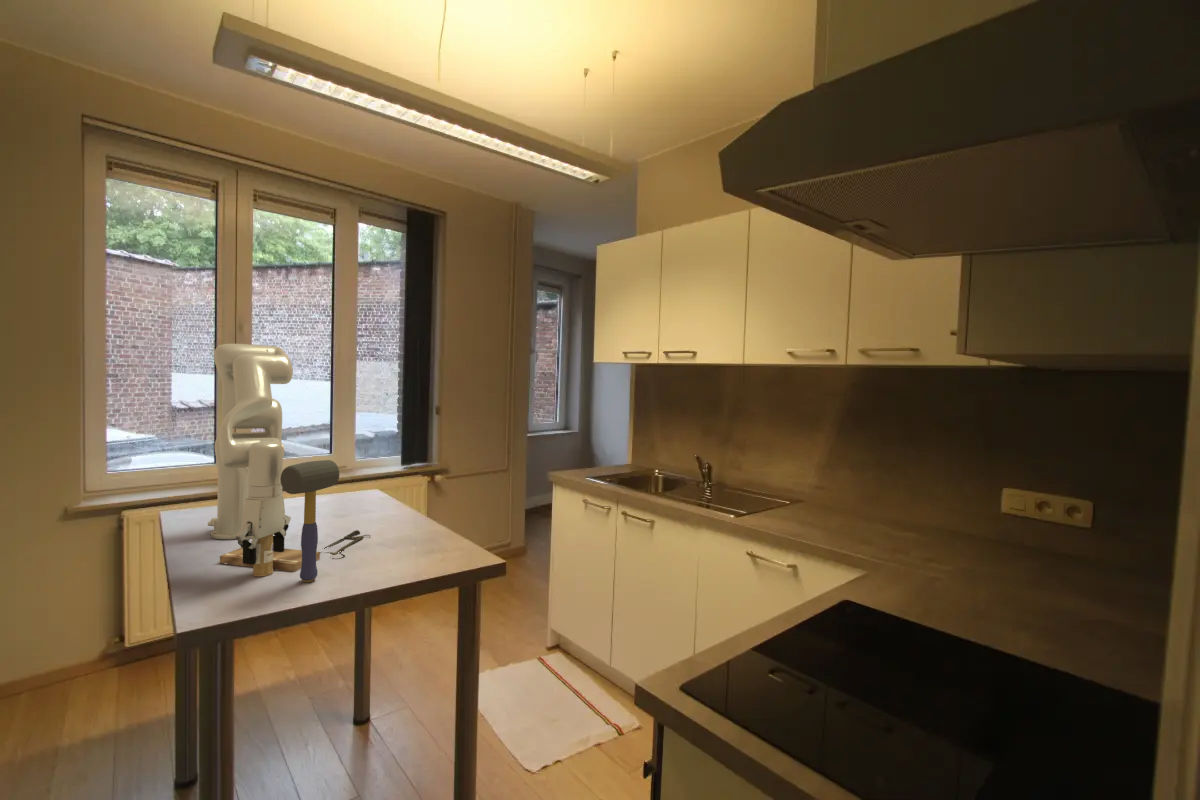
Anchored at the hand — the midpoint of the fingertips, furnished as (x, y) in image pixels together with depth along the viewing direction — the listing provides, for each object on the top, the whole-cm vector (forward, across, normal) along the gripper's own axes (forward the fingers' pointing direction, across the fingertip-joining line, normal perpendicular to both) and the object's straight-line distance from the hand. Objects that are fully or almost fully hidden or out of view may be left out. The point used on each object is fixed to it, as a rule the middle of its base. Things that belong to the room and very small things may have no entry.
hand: (264, 557), depth 141 cm
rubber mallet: (+4, +1, +13) cm, 14 cm away
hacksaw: (+5, -27, +6) cm, 28 cm away
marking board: (+4, -8, -5) cm, 11 cm away
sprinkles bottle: (+4, 0, 0) cm, 4 cm away
